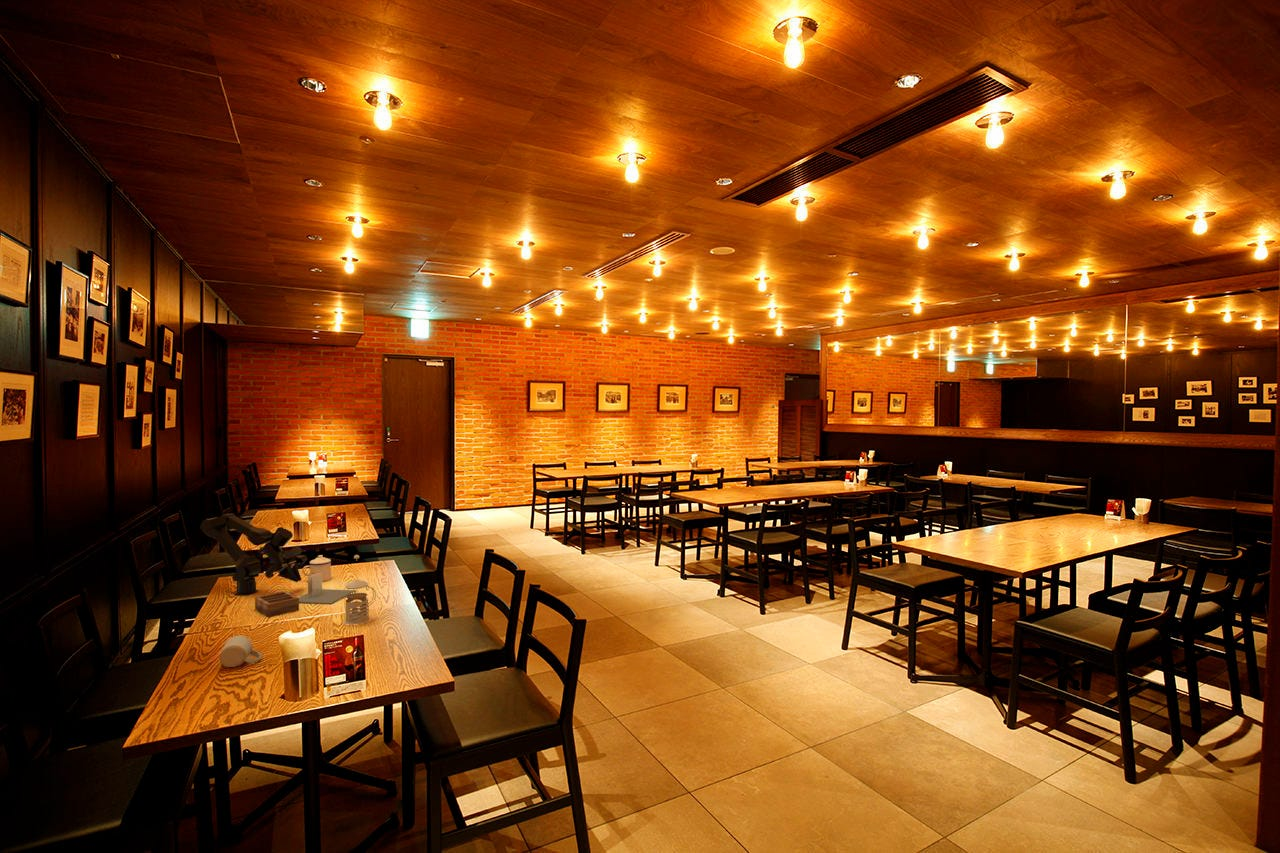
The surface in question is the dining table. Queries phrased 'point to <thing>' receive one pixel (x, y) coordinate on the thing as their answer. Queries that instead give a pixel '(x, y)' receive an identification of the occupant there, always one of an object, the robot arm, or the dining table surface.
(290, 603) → the slot box
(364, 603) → the french press
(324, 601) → the rubber mat
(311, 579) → the wooden block
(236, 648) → the ceramic mug
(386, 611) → the dining table surface
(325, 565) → the teacup with lid
